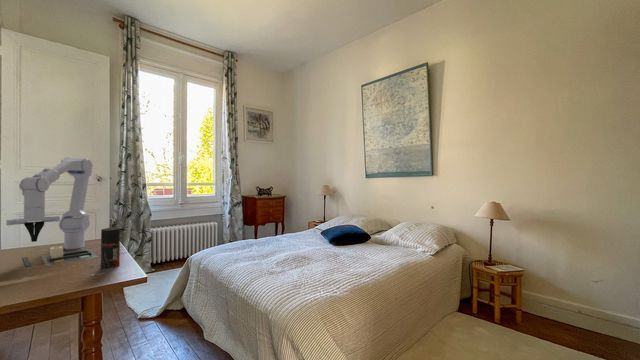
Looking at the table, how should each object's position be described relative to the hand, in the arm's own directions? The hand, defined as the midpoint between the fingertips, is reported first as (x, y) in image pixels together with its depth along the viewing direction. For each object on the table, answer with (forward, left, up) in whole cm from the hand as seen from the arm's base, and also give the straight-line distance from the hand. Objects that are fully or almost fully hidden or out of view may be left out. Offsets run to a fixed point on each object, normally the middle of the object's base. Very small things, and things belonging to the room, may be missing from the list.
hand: (34, 241), depth 108 cm
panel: (0, +11, -10) cm, 14 cm away
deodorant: (+23, +20, -10) cm, 32 cm away
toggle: (0, +7, -8) cm, 11 cm away
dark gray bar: (-2, -2, -10) cm, 10 cm away
